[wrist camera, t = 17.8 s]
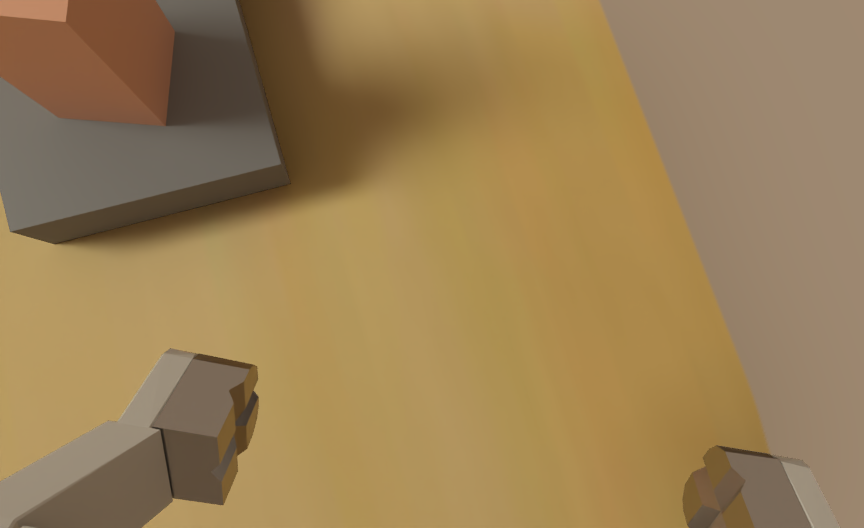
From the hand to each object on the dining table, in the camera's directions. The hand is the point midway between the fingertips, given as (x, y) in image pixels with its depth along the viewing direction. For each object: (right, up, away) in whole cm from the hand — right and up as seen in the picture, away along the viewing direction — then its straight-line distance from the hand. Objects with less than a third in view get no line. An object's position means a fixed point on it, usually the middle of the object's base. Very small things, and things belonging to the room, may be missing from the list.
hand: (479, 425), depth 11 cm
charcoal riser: (-17, +12, +23) cm, 31 cm away
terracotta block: (-16, +12, +19) cm, 28 cm away
